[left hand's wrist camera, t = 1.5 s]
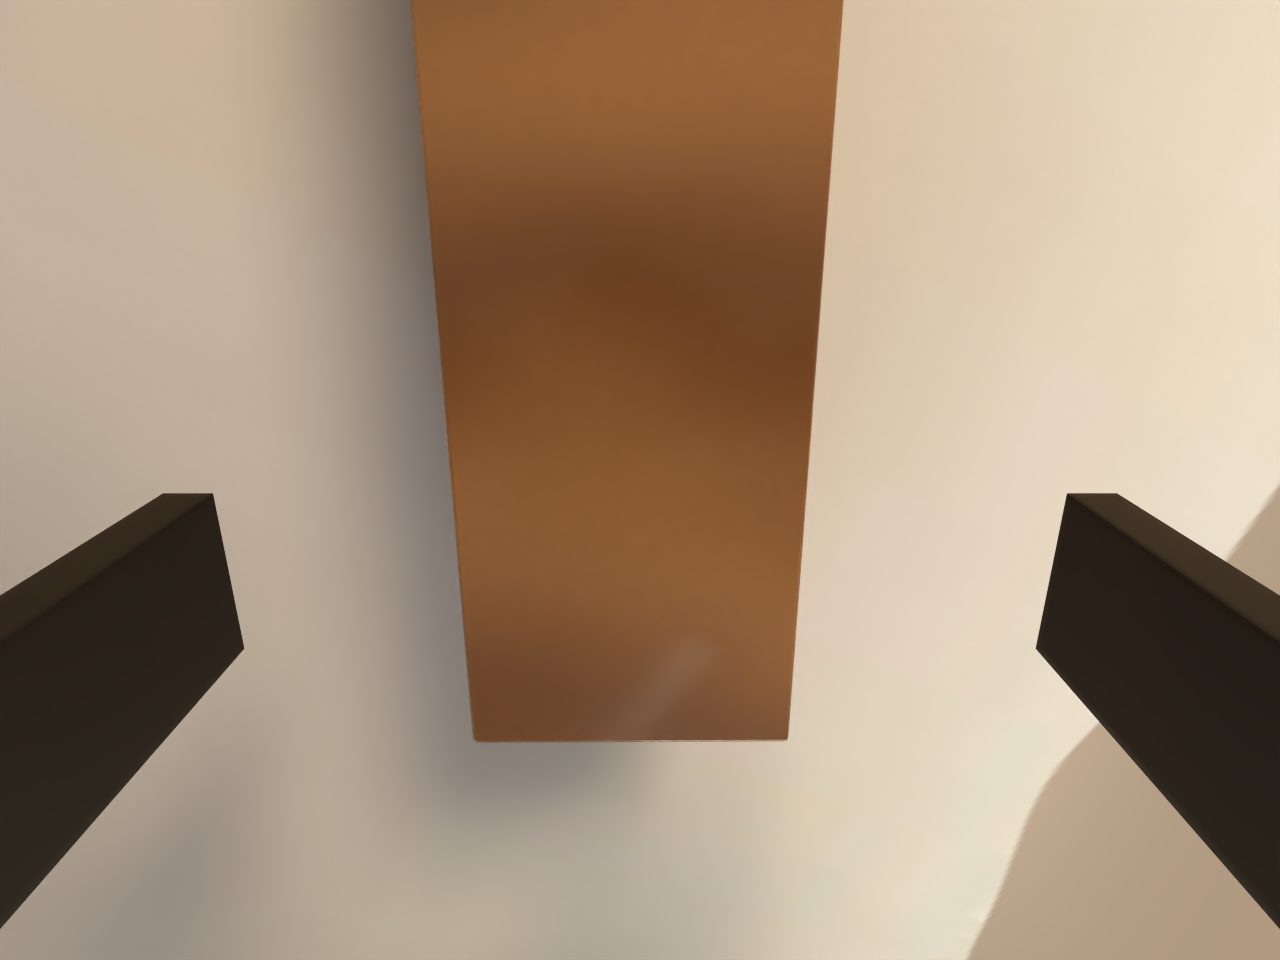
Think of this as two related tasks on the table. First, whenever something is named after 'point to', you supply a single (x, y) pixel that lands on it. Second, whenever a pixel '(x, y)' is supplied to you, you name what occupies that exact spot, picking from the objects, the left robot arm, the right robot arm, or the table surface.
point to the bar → (628, 351)
